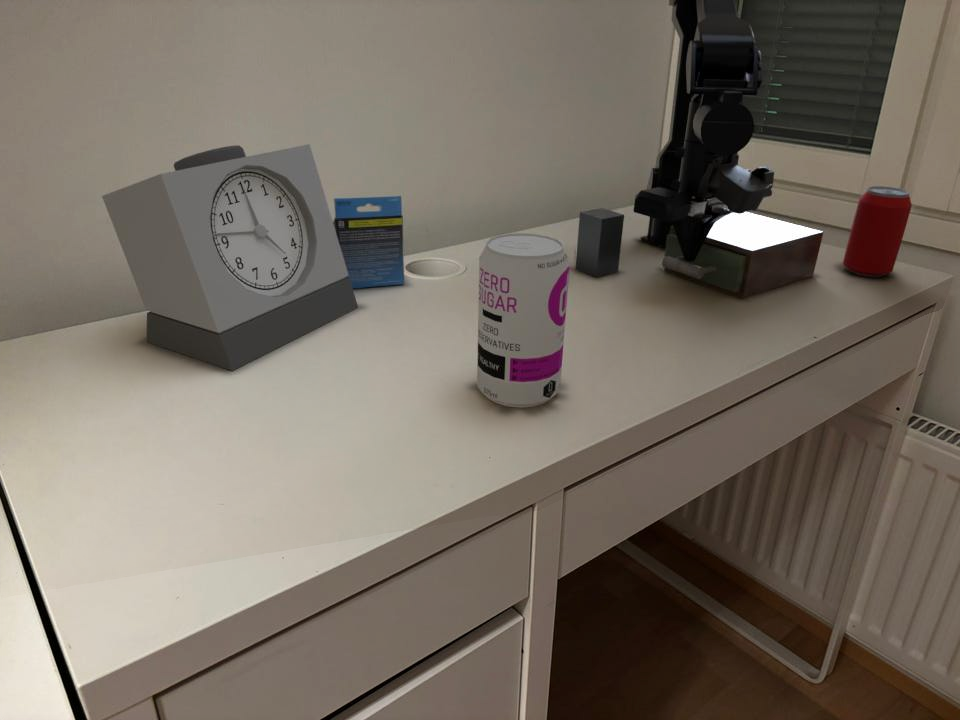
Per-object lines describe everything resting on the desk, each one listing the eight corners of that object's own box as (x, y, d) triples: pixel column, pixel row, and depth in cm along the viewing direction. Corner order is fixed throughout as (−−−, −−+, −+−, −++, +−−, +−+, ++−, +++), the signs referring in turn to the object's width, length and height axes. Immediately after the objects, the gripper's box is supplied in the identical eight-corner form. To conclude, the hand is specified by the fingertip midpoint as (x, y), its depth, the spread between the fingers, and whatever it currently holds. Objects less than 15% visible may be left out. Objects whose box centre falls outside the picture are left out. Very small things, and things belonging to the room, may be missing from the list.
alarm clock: (232, 370, 73) (201, 171, 64) (132, 337, 80) (92, 152, 70) (358, 307, 89) (347, 140, 80) (266, 284, 96) (247, 128, 86)
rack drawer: (714, 299, 91) (720, 263, 89) (642, 272, 100) (646, 239, 98) (801, 271, 101) (809, 239, 99) (729, 249, 110) (735, 219, 108)
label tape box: (400, 276, 99) (397, 188, 94) (405, 286, 96) (402, 195, 90) (336, 280, 97) (329, 191, 92) (339, 291, 94) (332, 198, 88)
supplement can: (567, 378, 72) (578, 236, 66) (547, 417, 65) (558, 263, 59) (492, 366, 75) (496, 227, 68) (465, 402, 68) (466, 251, 61)
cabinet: (742, 298, 94) (752, 250, 91) (664, 270, 104) (670, 226, 101) (813, 275, 103) (823, 231, 100) (734, 251, 112) (742, 210, 109)
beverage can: (880, 265, 108) (902, 186, 102) (899, 280, 102) (924, 197, 96) (834, 263, 108) (854, 184, 103) (850, 277, 102) (872, 194, 97)
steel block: (575, 269, 103) (579, 212, 99) (596, 264, 106) (602, 207, 102) (596, 277, 100) (601, 219, 96) (618, 272, 102) (624, 214, 99)
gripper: (713, 158, 77) (691, 292, 84) (809, 144, 87) (783, 265, 94) (638, 143, 85) (623, 266, 92) (733, 132, 95) (714, 244, 102)
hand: (689, 260), depth 95 cm, fingers closed
